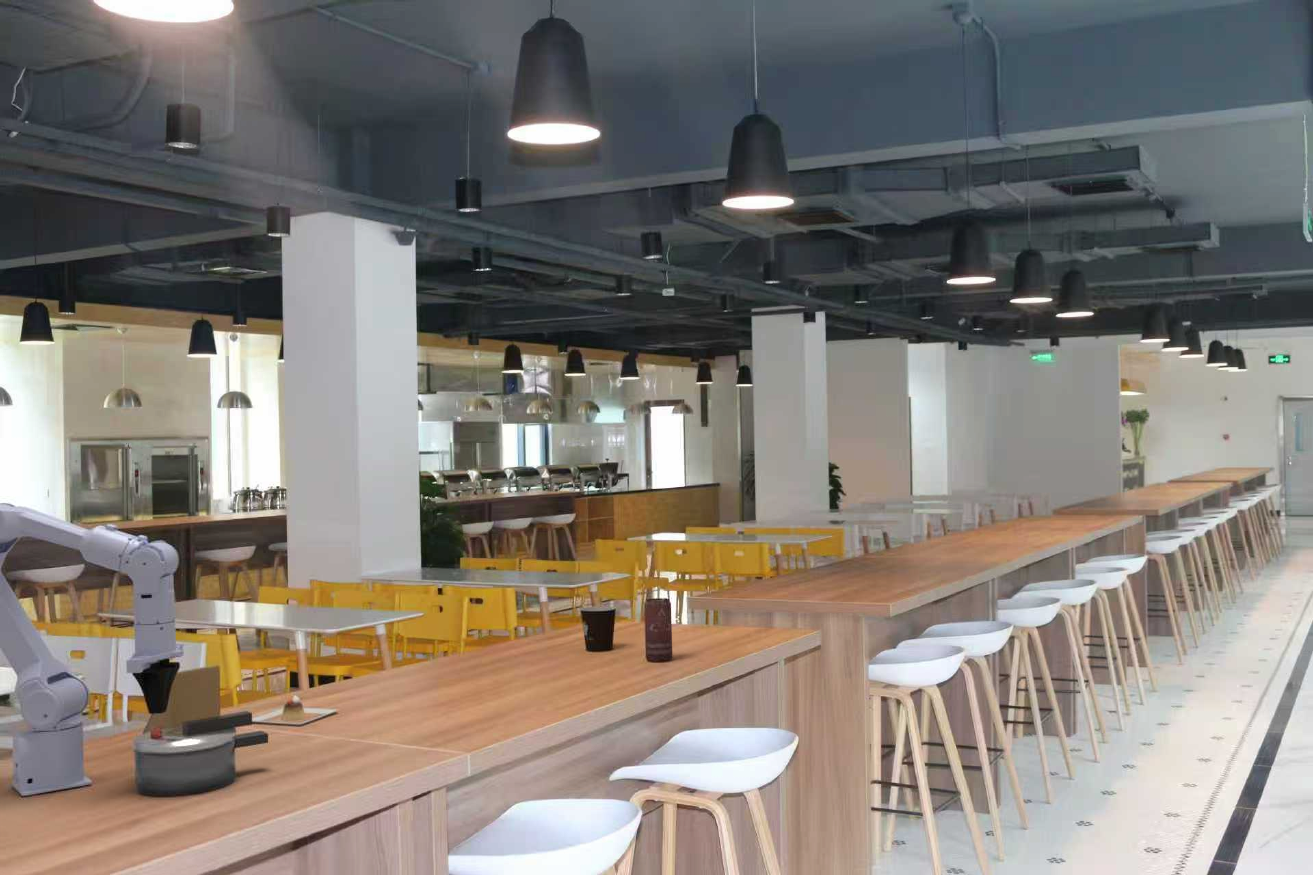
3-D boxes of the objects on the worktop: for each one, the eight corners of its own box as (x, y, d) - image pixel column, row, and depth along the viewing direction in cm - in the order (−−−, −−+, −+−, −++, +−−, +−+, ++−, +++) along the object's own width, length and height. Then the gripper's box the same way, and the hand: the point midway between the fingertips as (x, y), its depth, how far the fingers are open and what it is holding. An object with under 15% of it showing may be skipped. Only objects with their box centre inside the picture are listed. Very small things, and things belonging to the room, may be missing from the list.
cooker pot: (150, 802, 171) (149, 759, 171) (124, 782, 182) (123, 742, 182) (282, 777, 183) (281, 737, 183) (250, 760, 194) (249, 722, 194)
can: (678, 658, 278) (676, 598, 278) (663, 663, 273) (661, 601, 273) (655, 657, 281) (654, 596, 282) (640, 661, 276) (639, 600, 276)
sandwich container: (180, 743, 208) (178, 656, 209) (223, 756, 198) (221, 664, 198) (130, 753, 202) (128, 663, 202) (171, 767, 192) (169, 672, 192)
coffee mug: (616, 652, 290) (614, 610, 290) (580, 653, 290) (579, 611, 291) (618, 644, 302) (617, 604, 302) (583, 645, 302) (582, 605, 302)
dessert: (245, 726, 222) (245, 700, 222) (287, 712, 233) (286, 687, 233) (300, 729, 218) (299, 703, 218) (339, 715, 229) (339, 690, 229)
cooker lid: (154, 758, 171) (154, 738, 171) (118, 743, 181) (118, 724, 181) (270, 736, 183) (269, 718, 183) (229, 723, 193) (229, 705, 193)
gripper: (158, 628, 175) (162, 722, 175) (200, 615, 190) (203, 701, 189) (111, 630, 175) (114, 723, 175) (156, 616, 190) (159, 703, 190)
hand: (157, 712), depth 182 cm, fingers closed
